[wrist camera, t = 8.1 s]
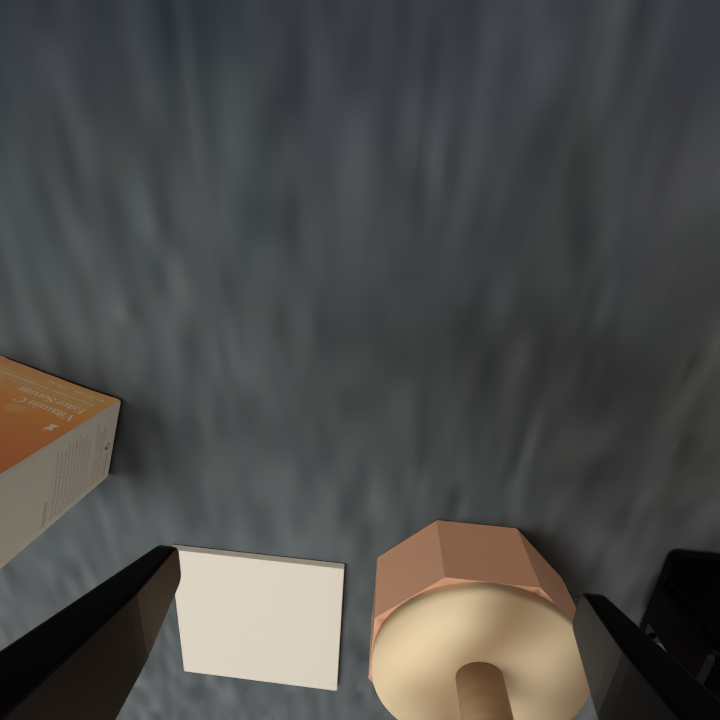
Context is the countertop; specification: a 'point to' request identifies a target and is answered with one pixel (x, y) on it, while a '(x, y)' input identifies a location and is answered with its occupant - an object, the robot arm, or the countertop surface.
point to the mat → (260, 616)
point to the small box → (47, 450)
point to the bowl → (462, 567)
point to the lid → (478, 656)
